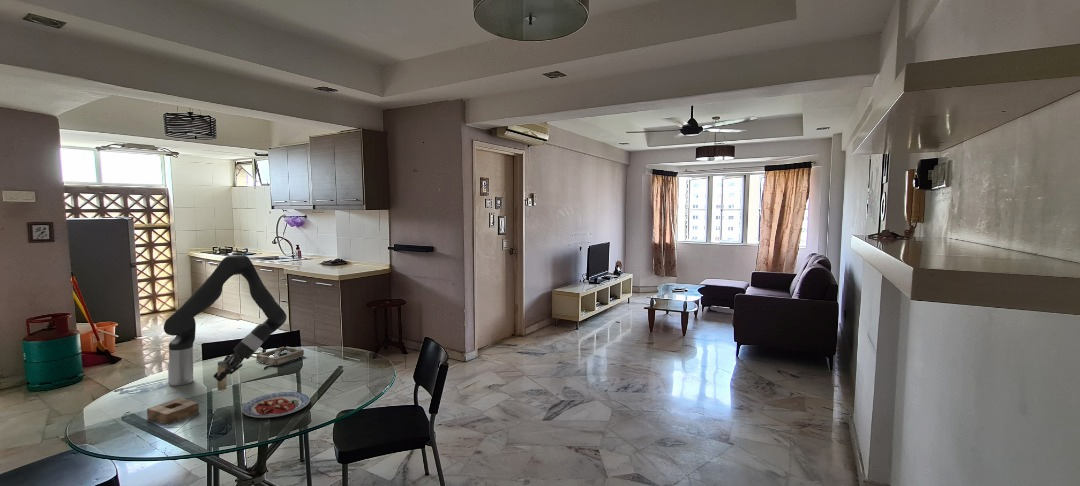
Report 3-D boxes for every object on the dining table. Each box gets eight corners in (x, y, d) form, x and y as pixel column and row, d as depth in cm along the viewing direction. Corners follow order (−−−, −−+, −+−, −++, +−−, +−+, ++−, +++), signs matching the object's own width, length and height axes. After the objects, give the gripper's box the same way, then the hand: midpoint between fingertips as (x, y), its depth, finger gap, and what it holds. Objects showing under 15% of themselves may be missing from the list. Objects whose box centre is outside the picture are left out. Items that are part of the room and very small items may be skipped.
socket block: (147, 418, 186) (147, 408, 186) (179, 407, 197) (179, 397, 197) (167, 424, 182) (167, 414, 182) (198, 412, 193) (198, 402, 193)
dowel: (215, 389, 198) (215, 362, 197) (223, 387, 201) (223, 360, 200) (221, 391, 197) (221, 363, 196) (228, 388, 200) (228, 361, 199)
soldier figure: (267, 366, 253) (264, 353, 262) (274, 370, 256) (271, 357, 265) (279, 356, 254) (276, 344, 263) (286, 360, 258) (282, 348, 266)
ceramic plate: (238, 426, 184) (238, 419, 184) (245, 401, 207) (245, 394, 206) (310, 415, 196) (310, 409, 196) (309, 393, 219) (309, 387, 218)
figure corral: (256, 362, 255) (256, 355, 255) (285, 352, 273) (285, 346, 272) (275, 366, 250) (275, 359, 250) (303, 356, 268) (303, 349, 267)
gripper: (236, 337, 208) (204, 370, 200) (247, 344, 199) (214, 379, 191) (249, 346, 212) (218, 379, 204) (261, 354, 204) (229, 388, 195)
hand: (216, 379), depth 197 cm, fingers closed on dowel, 3 cm apart
